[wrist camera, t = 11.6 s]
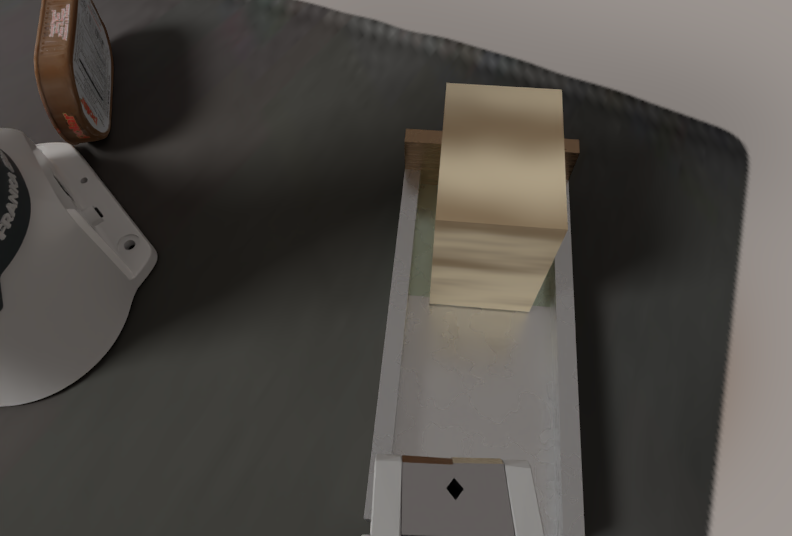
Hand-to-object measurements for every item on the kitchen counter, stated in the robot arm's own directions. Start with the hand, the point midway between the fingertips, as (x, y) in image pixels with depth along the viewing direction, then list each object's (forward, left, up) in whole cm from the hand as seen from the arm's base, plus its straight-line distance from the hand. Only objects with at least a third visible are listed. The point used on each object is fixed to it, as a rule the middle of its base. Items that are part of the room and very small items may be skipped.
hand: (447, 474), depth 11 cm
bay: (-9, +10, -26) cm, 29 cm away
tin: (-45, -7, -26) cm, 53 cm away
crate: (-15, +14, -25) cm, 32 cm away
